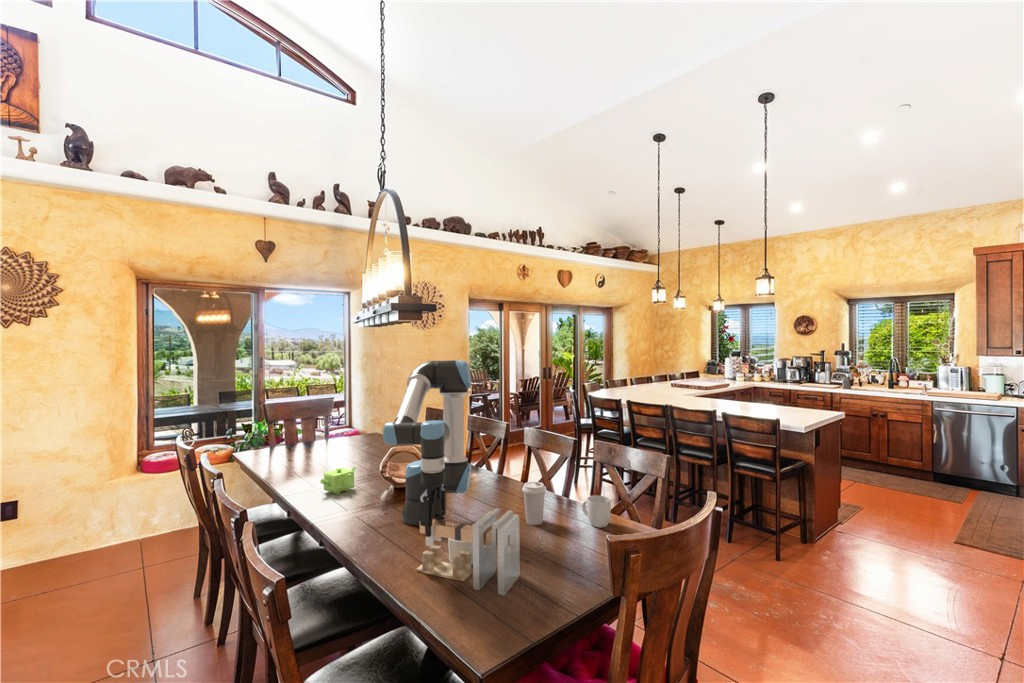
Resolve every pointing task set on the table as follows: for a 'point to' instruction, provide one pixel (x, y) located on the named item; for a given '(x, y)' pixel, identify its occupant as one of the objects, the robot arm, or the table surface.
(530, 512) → the coffee cup
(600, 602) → the table surface
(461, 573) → the rack
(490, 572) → the twin slotted uprights
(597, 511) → the mug
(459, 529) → the block
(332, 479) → the green boxy piggy bank
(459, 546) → the mug
